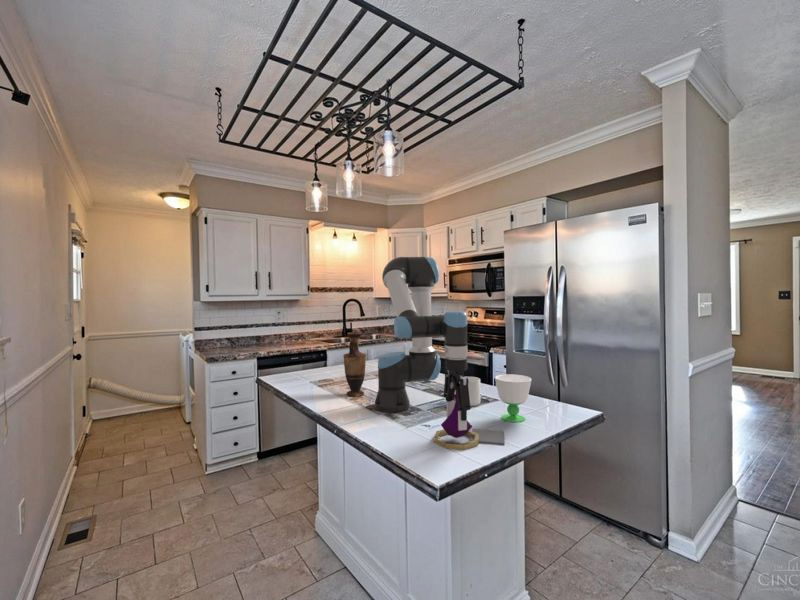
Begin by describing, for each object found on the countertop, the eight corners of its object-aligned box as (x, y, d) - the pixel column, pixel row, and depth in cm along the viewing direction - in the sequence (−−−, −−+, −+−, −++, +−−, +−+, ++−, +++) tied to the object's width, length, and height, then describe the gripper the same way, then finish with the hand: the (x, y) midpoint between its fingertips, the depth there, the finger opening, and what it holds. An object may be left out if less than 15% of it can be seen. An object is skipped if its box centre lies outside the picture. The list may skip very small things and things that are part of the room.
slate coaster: (470, 442, 130) (470, 440, 130) (472, 430, 141) (472, 428, 141) (504, 444, 128) (504, 443, 128) (504, 432, 138) (504, 431, 138)
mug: (484, 404, 173) (484, 378, 173) (471, 408, 167) (471, 382, 167) (463, 398, 182) (463, 374, 182) (450, 402, 176) (450, 377, 176)
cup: (488, 419, 153) (488, 378, 152) (504, 410, 163) (504, 372, 163) (523, 427, 144) (522, 383, 143) (537, 417, 154) (537, 377, 154)
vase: (350, 391, 198) (349, 331, 197) (370, 392, 194) (369, 332, 193) (340, 396, 188) (338, 333, 187) (360, 398, 184) (359, 334, 183)
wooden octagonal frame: (431, 446, 127) (431, 442, 127) (438, 431, 141) (438, 426, 141) (477, 450, 123) (477, 446, 123) (479, 434, 137) (479, 430, 137)
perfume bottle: (456, 429, 137) (456, 378, 137) (472, 435, 131) (472, 382, 131) (440, 434, 133) (440, 381, 132) (456, 441, 127) (455, 385, 126)
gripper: (433, 353, 141) (434, 415, 141) (459, 364, 120) (459, 437, 121) (453, 352, 143) (453, 413, 143) (481, 363, 122) (481, 435, 123)
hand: (456, 424), depth 132 cm, fingers closed on perfume bottle, 9 cm apart
